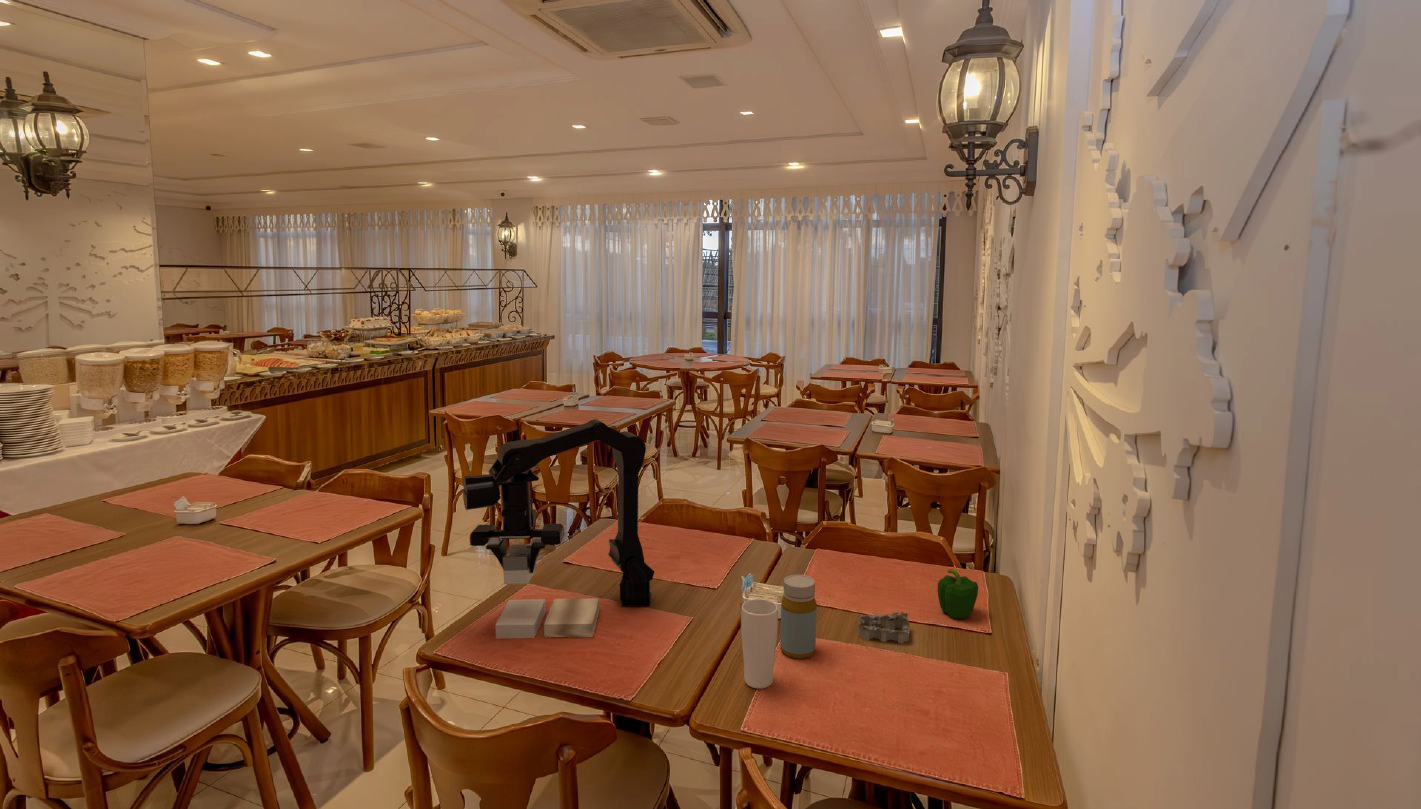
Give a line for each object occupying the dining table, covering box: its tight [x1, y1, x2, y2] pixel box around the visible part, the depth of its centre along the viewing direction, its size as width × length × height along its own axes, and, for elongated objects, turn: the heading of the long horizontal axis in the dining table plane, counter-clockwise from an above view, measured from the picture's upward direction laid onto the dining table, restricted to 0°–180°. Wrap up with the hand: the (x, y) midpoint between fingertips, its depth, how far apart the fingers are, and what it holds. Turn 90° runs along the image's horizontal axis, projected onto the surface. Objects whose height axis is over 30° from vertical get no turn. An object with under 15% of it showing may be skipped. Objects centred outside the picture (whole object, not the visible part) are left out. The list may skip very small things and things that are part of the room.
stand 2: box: [543, 597, 600, 639], centre depth 156 cm, size 10×12×3 cm
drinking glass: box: [740, 598, 779, 689], centre depth 133 cm, size 7×7×15 cm
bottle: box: [780, 574, 818, 660], centre depth 144 cm, size 7×7×15 cm
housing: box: [502, 543, 536, 585], centre depth 153 cm, size 5×7×6 cm
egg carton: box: [857, 612, 911, 645], centre depth 152 cm, size 11×8×4 cm
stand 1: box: [495, 598, 547, 640], centre depth 156 cm, size 8×12×3 cm, turn 2°
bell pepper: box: [937, 568, 979, 620], centre depth 160 cm, size 8×8×10 cm
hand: (519, 572), depth 154 cm, fingers closed on housing, 5 cm apart
